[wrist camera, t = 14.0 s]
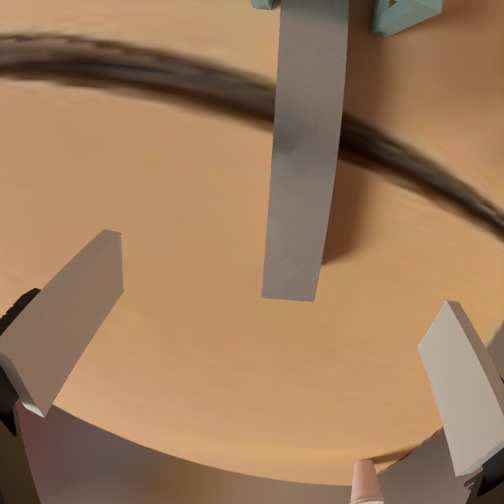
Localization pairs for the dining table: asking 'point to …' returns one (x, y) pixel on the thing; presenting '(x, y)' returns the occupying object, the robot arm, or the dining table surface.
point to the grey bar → (304, 144)
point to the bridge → (389, 14)
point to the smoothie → (365, 484)
